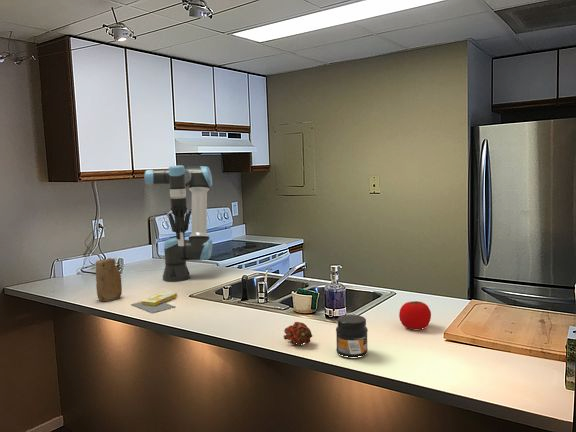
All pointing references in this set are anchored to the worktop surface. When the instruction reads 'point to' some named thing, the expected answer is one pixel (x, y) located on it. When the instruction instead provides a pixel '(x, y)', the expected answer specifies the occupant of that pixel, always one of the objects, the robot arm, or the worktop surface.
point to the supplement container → (351, 336)
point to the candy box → (158, 299)
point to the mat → (153, 307)
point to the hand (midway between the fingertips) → (181, 245)
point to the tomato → (415, 315)
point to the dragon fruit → (298, 333)
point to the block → (108, 280)
